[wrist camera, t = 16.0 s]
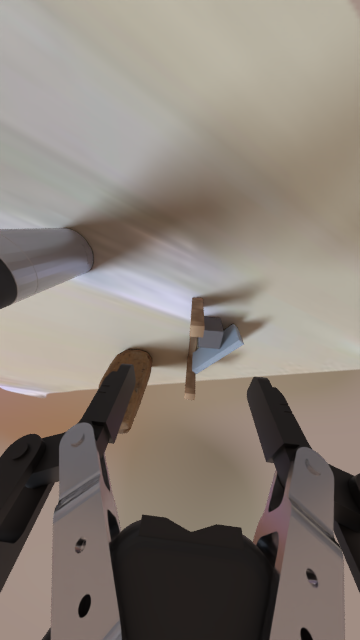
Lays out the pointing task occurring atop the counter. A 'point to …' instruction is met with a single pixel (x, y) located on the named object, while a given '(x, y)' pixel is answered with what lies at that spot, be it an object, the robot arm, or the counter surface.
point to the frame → (194, 344)
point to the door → (217, 350)
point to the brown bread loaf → (142, 375)
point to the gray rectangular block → (211, 333)
